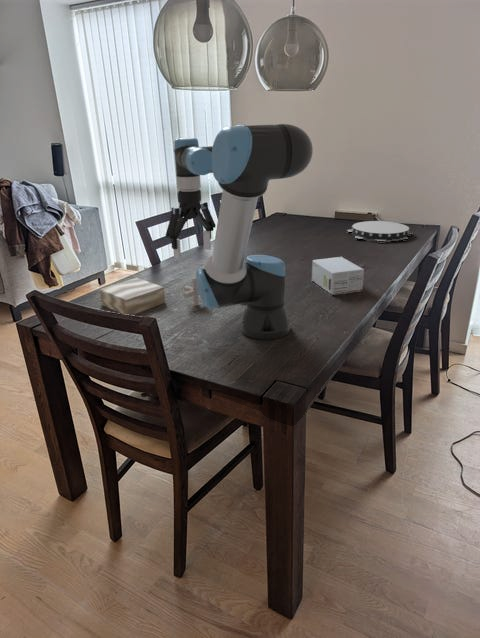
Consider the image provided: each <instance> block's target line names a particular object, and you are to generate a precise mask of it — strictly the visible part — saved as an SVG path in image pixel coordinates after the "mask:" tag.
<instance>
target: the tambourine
mask: <svg viewBox="0 0 480 638" xmlns="http://www.w3.org/2000/svg"><path fill="white" fill-rule="evenodd" d="M347 231H348V232H352V233H351V235H352V234H353V235H355V238H358V239H363V238H367V239H375V240H377V241H386V240H392V239H408V240H409V235H408V234H412V235H413V232H412V233H409V232H410V227H409V226H407V225H405V224H402V223H399V222H394V221H385V220H382V221H381V220H371V221H370V220H369V221H367V220H366V221H359V222H356V223H353V224H352V226H351V229H347V230H346V232H347ZM348 232H347V233H348ZM407 236H408V237H407ZM355 238H354V239H355Z"/></svg>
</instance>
